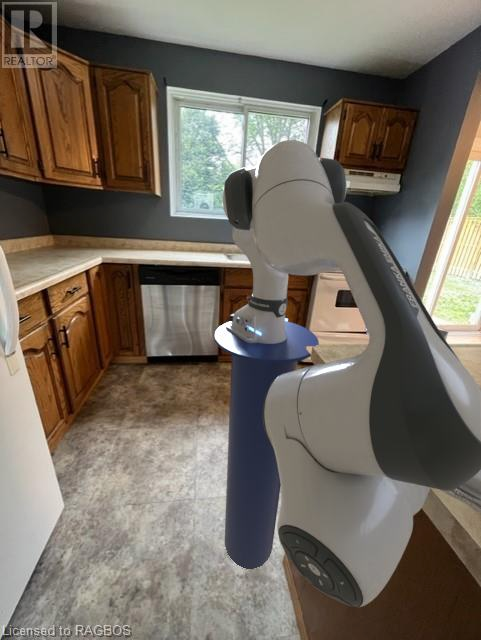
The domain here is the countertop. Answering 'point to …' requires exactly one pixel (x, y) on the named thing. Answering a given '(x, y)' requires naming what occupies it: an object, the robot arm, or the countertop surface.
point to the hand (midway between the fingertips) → (421, 406)
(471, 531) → the countertop surface
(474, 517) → the countertop surface
